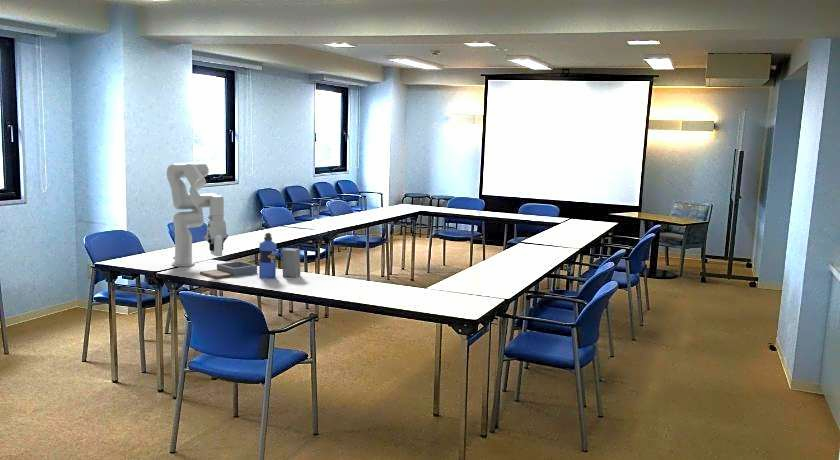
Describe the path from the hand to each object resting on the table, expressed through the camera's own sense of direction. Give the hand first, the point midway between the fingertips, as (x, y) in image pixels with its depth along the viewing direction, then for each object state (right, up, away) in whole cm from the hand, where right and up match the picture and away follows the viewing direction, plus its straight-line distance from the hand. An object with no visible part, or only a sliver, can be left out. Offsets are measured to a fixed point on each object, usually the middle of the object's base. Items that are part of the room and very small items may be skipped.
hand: (216, 249), depth 389 cm
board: (-1, -14, +2) cm, 15 cm away
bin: (+8, -13, +13) cm, 20 cm away
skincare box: (+40, -15, +10) cm, 44 cm away
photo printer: (0, -3, 0) cm, 3 cm away
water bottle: (+27, -16, +5) cm, 32 cm away
